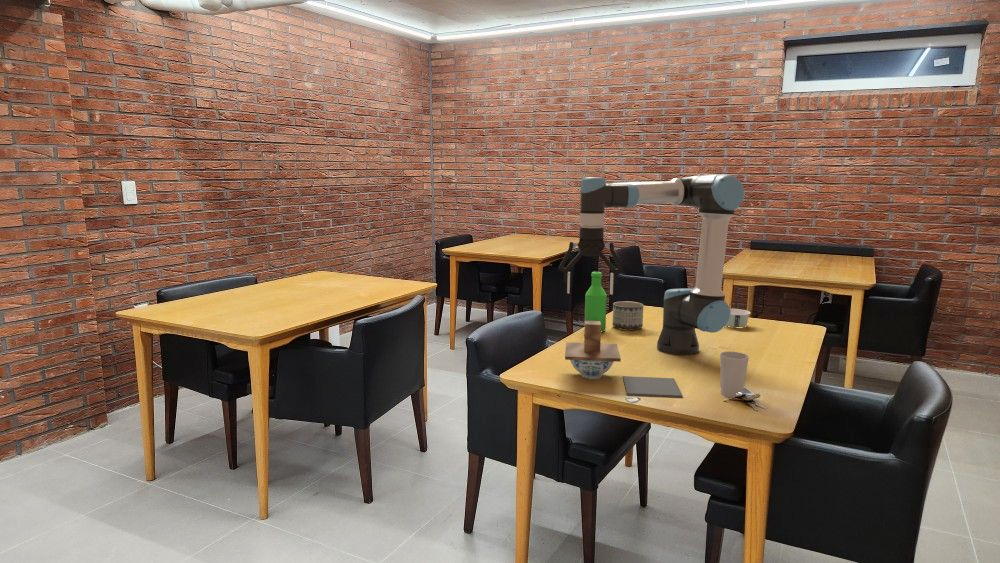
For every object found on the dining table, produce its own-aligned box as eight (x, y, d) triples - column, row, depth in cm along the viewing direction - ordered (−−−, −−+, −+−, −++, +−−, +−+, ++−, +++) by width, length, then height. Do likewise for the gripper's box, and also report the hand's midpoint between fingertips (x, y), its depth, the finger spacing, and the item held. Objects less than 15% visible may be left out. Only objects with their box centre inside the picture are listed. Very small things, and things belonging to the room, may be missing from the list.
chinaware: (604, 386, 188) (604, 362, 187) (560, 378, 196) (560, 354, 195) (621, 373, 201) (622, 350, 199) (579, 366, 209) (580, 344, 207)
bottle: (582, 332, 255) (583, 272, 251) (587, 327, 263) (588, 270, 259) (603, 334, 252) (604, 274, 248) (607, 329, 260) (609, 271, 256)
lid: (616, 346, 204) (617, 317, 203) (620, 361, 188) (621, 329, 186) (565, 345, 206) (566, 316, 205) (565, 359, 190) (565, 328, 188)
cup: (712, 389, 185) (715, 351, 183) (738, 389, 186) (741, 351, 184) (724, 399, 177) (727, 359, 175) (751, 398, 178) (754, 358, 176)
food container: (754, 329, 261) (755, 314, 260) (725, 329, 261) (726, 314, 260) (743, 323, 273) (744, 308, 272) (716, 322, 273) (717, 308, 272)
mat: (674, 380, 194) (674, 378, 194) (682, 397, 179) (682, 395, 178) (622, 377, 196) (622, 376, 196) (627, 395, 180) (627, 393, 180)
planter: (611, 324, 270) (612, 300, 268) (641, 325, 268) (642, 301, 267) (613, 330, 258) (613, 306, 256) (643, 332, 256) (644, 307, 254)
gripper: (631, 226, 194) (628, 292, 198) (552, 225, 197) (551, 290, 201) (633, 228, 187) (630, 296, 190) (551, 227, 190) (550, 294, 193)
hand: (589, 293), depth 196 cm, fingers open, 13 cm apart
